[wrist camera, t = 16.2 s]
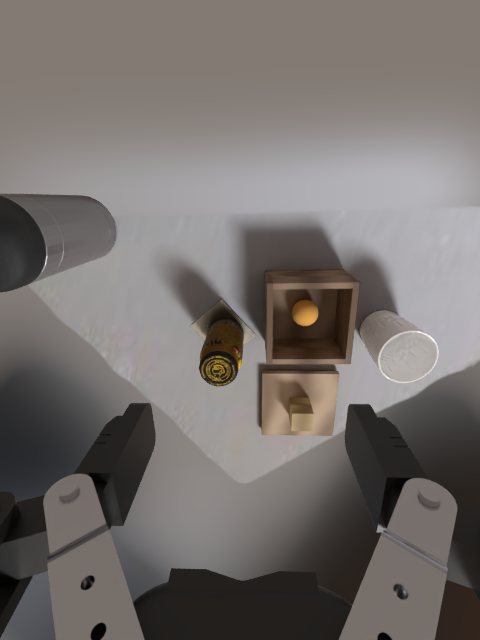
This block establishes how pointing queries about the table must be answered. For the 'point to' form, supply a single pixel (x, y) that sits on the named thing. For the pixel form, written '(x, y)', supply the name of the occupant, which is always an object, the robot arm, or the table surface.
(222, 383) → the condiment
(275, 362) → the box
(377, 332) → the white cup
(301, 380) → the lid
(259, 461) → the table surface
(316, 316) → the ball
